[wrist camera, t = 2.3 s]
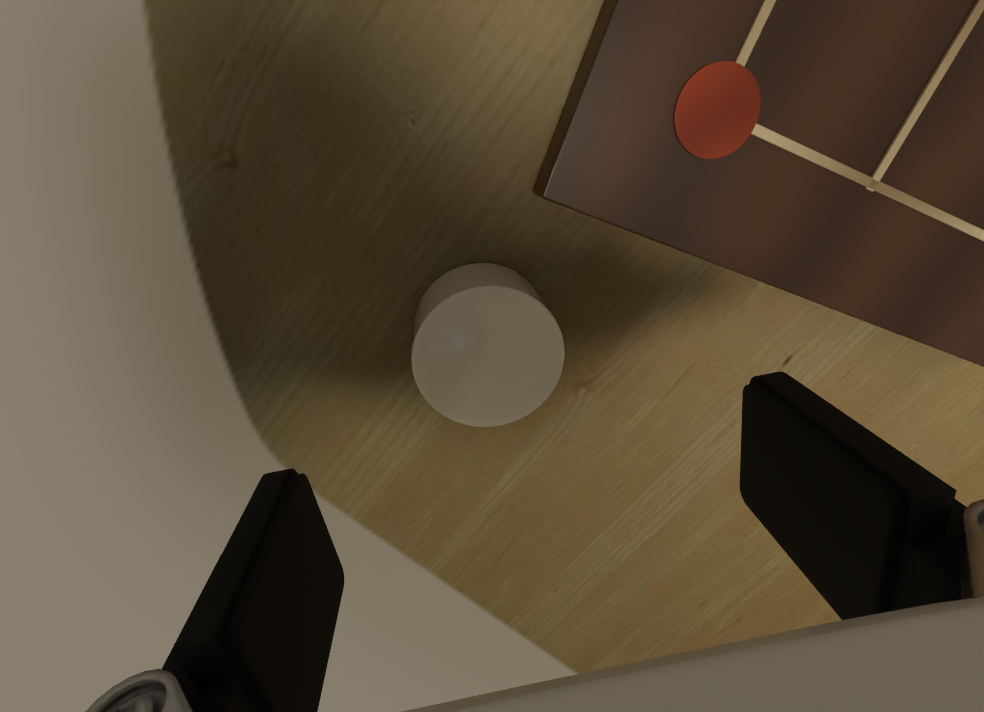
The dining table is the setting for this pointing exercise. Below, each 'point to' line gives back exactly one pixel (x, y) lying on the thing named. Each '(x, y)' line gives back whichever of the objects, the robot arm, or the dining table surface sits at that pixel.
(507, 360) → the beige round puck
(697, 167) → the board
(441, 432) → the dining table surface
